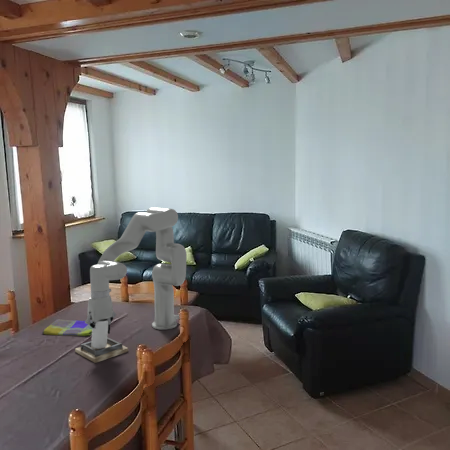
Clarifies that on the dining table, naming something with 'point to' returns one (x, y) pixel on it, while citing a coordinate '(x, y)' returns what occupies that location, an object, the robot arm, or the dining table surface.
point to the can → (100, 334)
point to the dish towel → (68, 328)
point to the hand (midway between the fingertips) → (101, 334)
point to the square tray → (101, 350)
